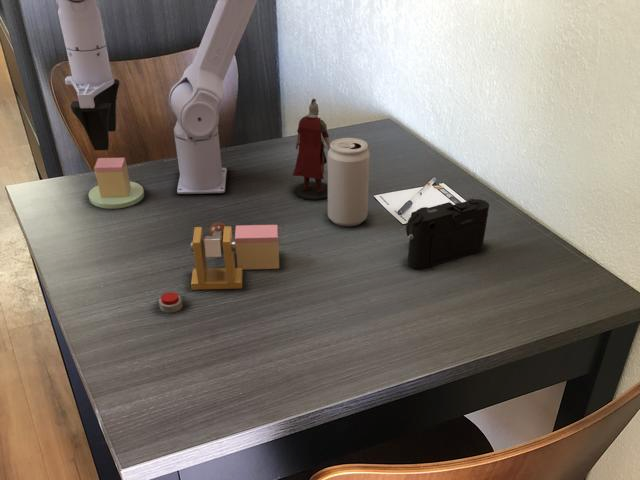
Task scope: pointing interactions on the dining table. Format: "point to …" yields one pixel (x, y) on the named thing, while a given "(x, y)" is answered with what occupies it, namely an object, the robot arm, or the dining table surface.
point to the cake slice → (112, 177)
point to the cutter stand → (219, 276)
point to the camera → (446, 232)
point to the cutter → (214, 240)
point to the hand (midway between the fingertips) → (105, 139)
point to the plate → (117, 202)
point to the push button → (170, 302)
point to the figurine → (311, 155)
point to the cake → (257, 246)
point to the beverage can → (348, 181)
